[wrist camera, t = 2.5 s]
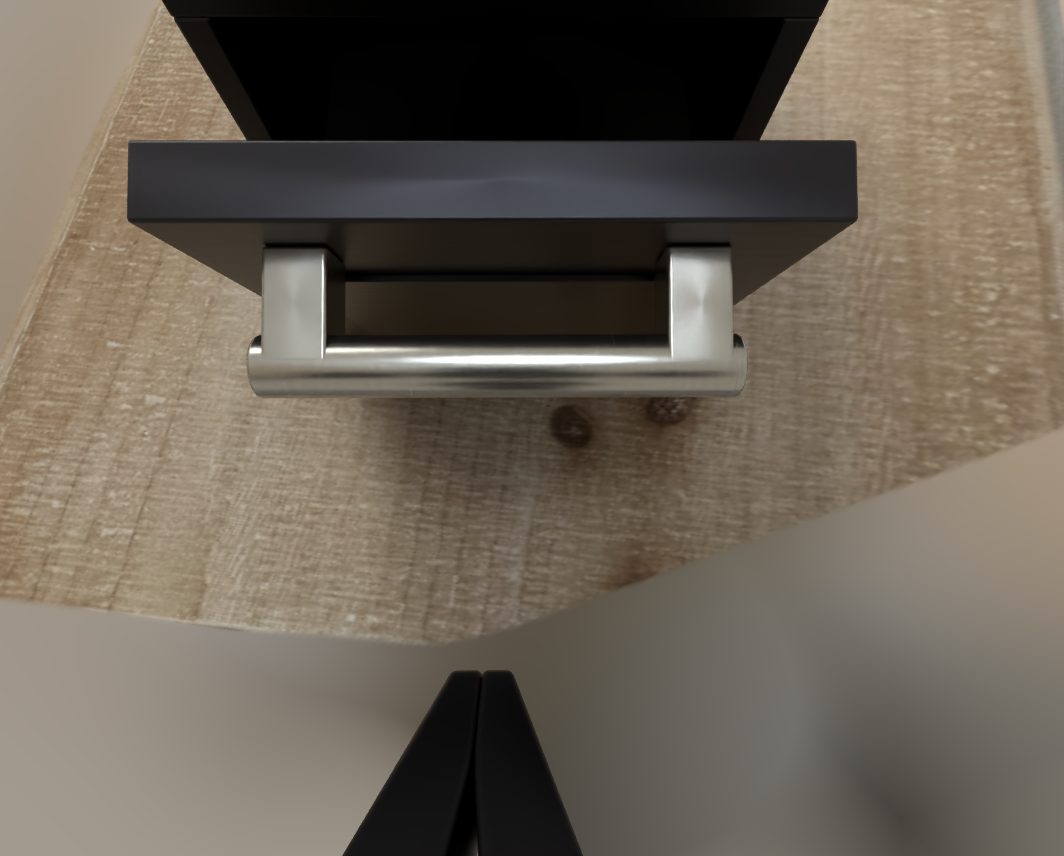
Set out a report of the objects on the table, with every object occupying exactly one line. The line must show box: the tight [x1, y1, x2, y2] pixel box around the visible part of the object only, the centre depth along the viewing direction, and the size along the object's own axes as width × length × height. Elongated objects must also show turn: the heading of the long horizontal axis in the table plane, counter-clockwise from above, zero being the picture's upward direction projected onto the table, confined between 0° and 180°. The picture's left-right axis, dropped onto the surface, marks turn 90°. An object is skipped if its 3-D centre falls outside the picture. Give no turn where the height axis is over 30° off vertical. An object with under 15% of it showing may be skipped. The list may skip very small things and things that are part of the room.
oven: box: [162, 0, 829, 141], centre depth 20 cm, size 15×14×13 cm
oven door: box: [127, 140, 858, 398], centre depth 18 cm, size 5×14×13 cm, turn 90°
